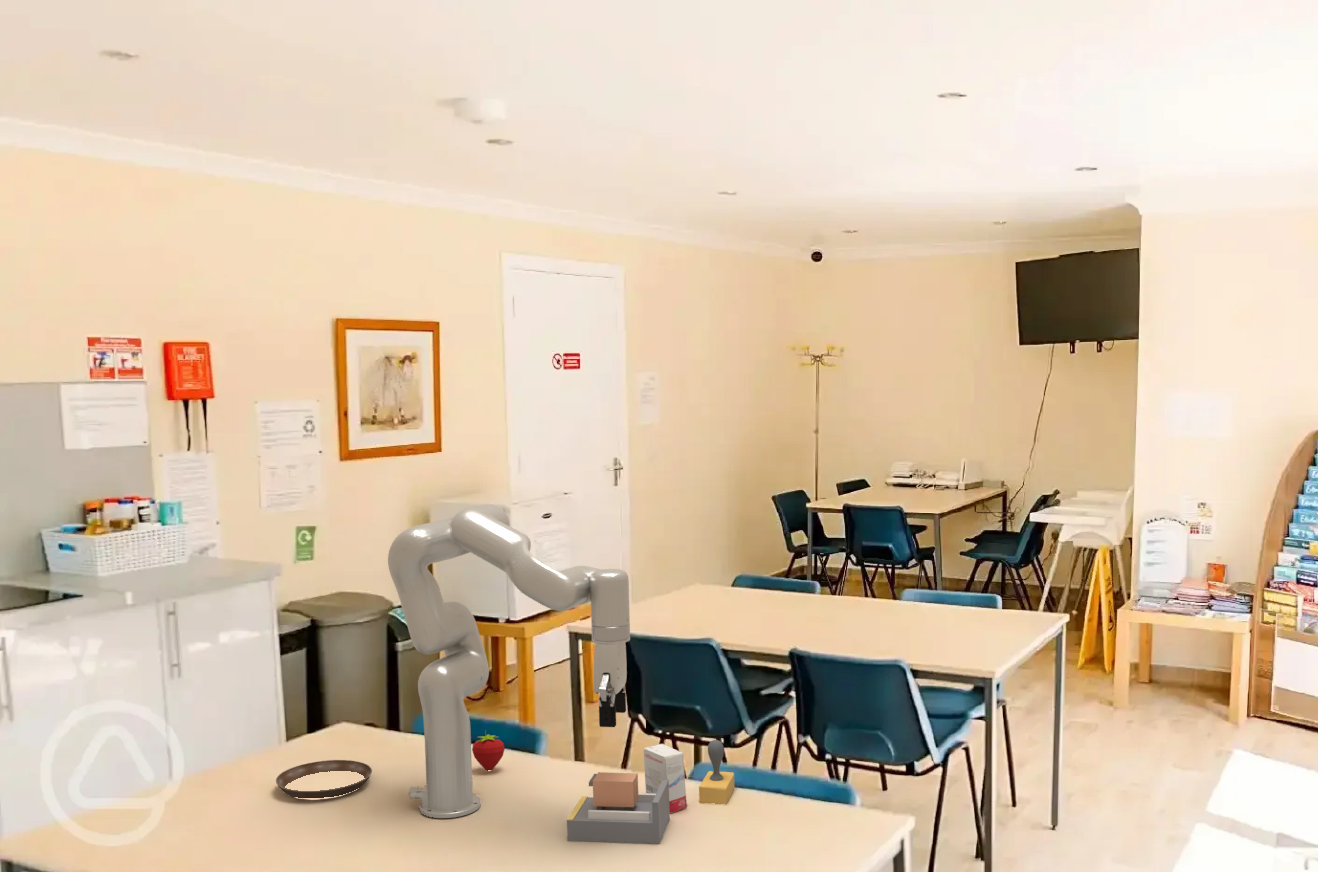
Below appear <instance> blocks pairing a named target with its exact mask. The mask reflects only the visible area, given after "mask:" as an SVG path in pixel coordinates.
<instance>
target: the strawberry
mask: <svg viewBox="0 0 1318 872" xmlns="http://www.w3.org/2000/svg"><path fill="white" fill-rule="evenodd" d="M484 734H485V736H483V735H482V736H480V735H479V736H477V738H478V740H476V741H475V742H474V743H473V745H472V747H471V752H472V753H473V756H474V759H475V760H476V761H477V762H478V764H479V765H480V766H481V767H482V768H483V769H484V770H485V771H486V770H487V771H488V770H492V771H493V770H494V768H496V766H497V765H498V764H499V762H500V761H501V759H502V758H503V756H504V752H505V744H504V742H502V740H500V739H498V738H499V736H496V735H490V734H489V733H488V734H487V730H486V729H485V731H484ZM487 771H486V772H487Z"/></svg>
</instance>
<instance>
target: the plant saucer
mask: <svg viewBox="0 0 1318 872" xmlns="http://www.w3.org/2000/svg"><path fill="white" fill-rule="evenodd" d="M328 771H329V772H330V771H351V772H357V773H359V774H361V775H363V776H364V778H365V779H363V780H361V781H359V782H357V783H354V784H351V785H348V786H345V787H340V788H335V789H329V790H320V791H298V790H291V789H287V788H285V786H286V785H287V784H288V783H291V782H292V781H294V780H296V779H298V778H301V777H303V776H306V775H310V774H315V773H319V772H328ZM372 773H373V769H372V767H371V766H370V765H368V764H367V763H364V762H363V761H362V762H361V761H356V760H351V759H349V760H348V759H329V760H321V761H320V760H319V761H314V762H312V761H311V762H308V763H303V764H300V765H297V766H293V767H290V768H288V769H286V770H284V771H282V772H281V773H280V774H278V775H277V777H276V779H275V784H276V785H277V788H279V789H280V790H281V791H282V792H283V793H284V794H285V795H287V796H288V795H289V796H288V797H290V796H291V797H290V798H292V797H298V798H324V797H334V796H339V795H343V794H346V793H349V792H352V791H354V790H356V789H358V788H360V787H361V786H362V787H363V786H364V785H365V784H366V783H367V782H368V780H369V778H370V777H371V775H372ZM362 787H361V788H362ZM361 788H360V789H361ZM358 790H359V789H358Z"/></svg>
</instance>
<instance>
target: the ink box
mask: <svg viewBox="0 0 1318 872" xmlns="http://www.w3.org/2000/svg"><path fill="white" fill-rule="evenodd" d="M643 761H644V762H643V764H644V782H645V783H644V784H645V793H649V794H656V793H657V791H658V789H659V787H660V784H661V782H662V780H669V810H670V814H672V813H676V812H678V811H682V810H684V809H687V808H688V806H687V793H686V776H685V774H686V773H685V761H684V752H682V751H680V750H677V749H674V748H673V747H670V746H668V745H666V744H664V743H659V744H655V745H651V746H647V747H644V748H643Z"/></svg>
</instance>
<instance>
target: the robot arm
mask: <svg viewBox="0 0 1318 872" xmlns="http://www.w3.org/2000/svg"><path fill="white" fill-rule="evenodd" d="M510 525H511V524H510V519H509V516H508V515H507V513H506V512H505V511H504V510H503V509H502V508H501V507H498V506H496V505H494V504H482V505H477V506H472V507H468V508H464V509H462V510H460V511H459V512H457V513H456V514H455V515H454V516H453V517H450V518H449V517H448V518H446V519H443V520H438V521H432V522H427V523H422V524H417V525H414V526H411V527H409V528H407V529H405V530H403V531H402V532H401V533H399V534H398V535H397V536H396V537H395V538H394V540H393V541H392V543H391V544H390V547H389V550H388V555H387V565H388V571H389V574H390V576H391V580H392V583H393V584H394V587H395V589H396V592H397V595H398V599H399V601H400V606H401V609H402V612H403V615H404V619H405V622H406V626H407V629H408V634H409V636H410V639H411V642H412V645H413V646H414V648H415V650H416V651H417V652H419V653H420V654H423V655H434V654H437V653H441V652H442V651H444V655H445V656H442V657H441V658H438V659H436V660H434V661H432V662H430V663H429V664H427V666H425V667H424V668H423V670H422V671H421V673H420V675H419V677H418V680H417V689H418V691H417V692H418V696H419V701H420V704H421V709H422V716H423V717H422V719H423V731H424V732H423V734H424V754H425V758H424V759H425V780H426V781H425V782H426V783H425V784H426V785H424V786H423V787H420V786H410V787H409V789H408V795H409V798H410V800H420V801H421V802H420V804H419V812H420V811H421V812H420V813H421V815H423V814H424V815H423V816H425V815H426V816H425V817H428V816H429V817H428V818H432V817H433V819H453V818H459V817H464V816H467V815H470V814H472V813H475V812H476V811H477V810H479V809H480V807H481V806H482V803H481V801H482V800H481V798H480V797H479V796H478V795H476V794H474V792H473V789H474V788H473V766H472V765H473V764H472V762H473V761H472V740H471V739H472V736H471V732H472V731H471V721H470V716H469V712H468V709H467V706H466V705H465V702H464V699H465V698H468V697H469V696H471V695H473V694H475V693H477V692H478V691H481V689H483V688H484V687H485V686H486V684H487V682H488V680H489V677H490V676H489V675H490V668H489V667H490V666H489V661H488V657H487V654H486V651H485V647H484V645H483V644H484V643H483V641H482V638H481V634H480V631H479V628H478V624H477V622H476V619H475V617H474V614H473V613H472V611H470V609H469V608H468V607H467V606H465V605H464V604H463V603H461V602H457V601H446V602H445V601H444V599H443V596H442V593H441V588H440V586H439V583H438V581H437V580H436V578H435V577H434V575H433V573H431V571H430V570H429V569H428V567H429V566H430V565H431V564H434V563H435V564H436V563H440V562H443V561H447V560H452V559H455V558H457V557H461V556H463V555H467V554H469V553H471V554H473V555H475V556H476V557H478V558H480V559H482V560H483V561H485V562H487V563H489V564H491V565H493V567H496V568H498V569H499V570H501V571H503V572H504V573H506V575H507V577H508V578H509V580H510V582H511V583H512V584H513V585H514V587H515V588H516V589H517V590H519V591H520V593H522V594H523V595H525V596H526V597H527V598H529V599H532V600H533V601H535V602H536V603H538V604H540V605H542V606H543V607H546V608H548V609H550V610H554V611H556V612H557V611H558V612H564V611H569V610H570V609H573V608H575V607H578V606H582V605H584V604H588V603H590V615H591V616H590V621H591V622H590V623H591V626H590V627H591V642H592V643H594V644H595V646H594V653H593V654H594V655H593V656H594V658H593V692H594V694H595V695H598V694H599V698H598V700H599V701H598V718H599V719H598V721H599V723H598V724H599V727H601V728H615V727H616V726H617V713H618V714H619V713H621V714H622V713H623V714H625V713H626V711H627V696H626V695H627V693H626V683H627V678H628V677H627V675H628V671H627V669H628V668H627V666H628V665H627V645H626V643H627V642H628V643H629V642H630V640H631V627H630V626H631V623H630V621H631V619H630V587H629V585H630V583H629V575H628V573H627V572H626V571H625V570H623V569H620V568H604V569H603V568H596V567H593V566H586V565H576V566H573V567H570V568H566V569H562V570H560V571H558V570H555V569H554V568H552V567H550V566H548V565H546V564H544V563H543V562H541V561H539V560H538V559H537V558H535V556H533V554H532V553H531V547H532V545H531V542H532V541H531V539H530V538H529V535H526V534H525V533H523V532H521V531H519V530H517V529H516V528H513V527H512V526H510Z"/></svg>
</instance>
